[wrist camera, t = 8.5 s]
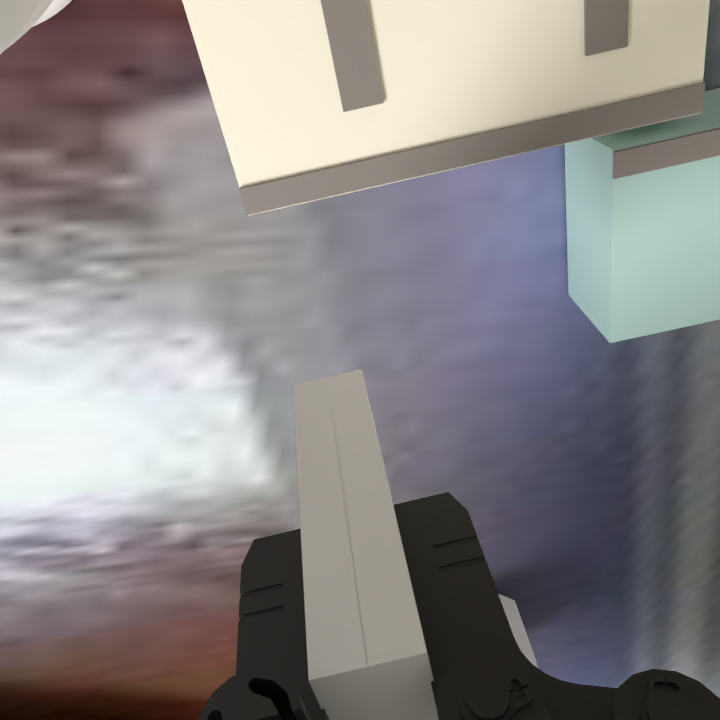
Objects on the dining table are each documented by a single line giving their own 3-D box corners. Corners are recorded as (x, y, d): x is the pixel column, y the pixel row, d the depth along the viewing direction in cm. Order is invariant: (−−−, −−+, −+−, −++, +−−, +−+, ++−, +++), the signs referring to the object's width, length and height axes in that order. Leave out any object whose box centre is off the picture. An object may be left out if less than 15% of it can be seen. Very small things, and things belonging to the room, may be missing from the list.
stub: (568, 294, 22) (611, 345, 19) (564, 123, 19) (614, 150, 16) (790, 246, 22) (870, 289, 19) (823, 64, 19) (924, 80, 16)
